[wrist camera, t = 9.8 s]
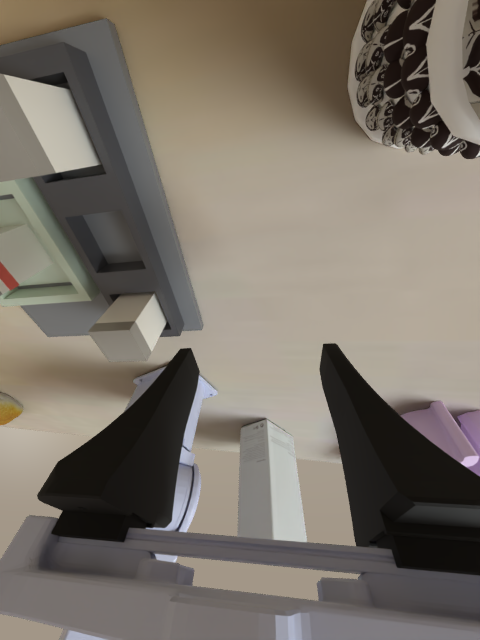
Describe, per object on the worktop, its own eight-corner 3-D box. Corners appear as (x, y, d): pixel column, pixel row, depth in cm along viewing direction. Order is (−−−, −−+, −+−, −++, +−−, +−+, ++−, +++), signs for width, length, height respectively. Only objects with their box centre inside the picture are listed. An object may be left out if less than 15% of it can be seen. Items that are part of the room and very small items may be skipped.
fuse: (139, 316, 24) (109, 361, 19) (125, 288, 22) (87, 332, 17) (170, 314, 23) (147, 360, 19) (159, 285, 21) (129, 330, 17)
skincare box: (240, 426, 39) (231, 546, 28) (268, 416, 37) (271, 546, 25) (269, 444, 43) (271, 557, 32) (296, 437, 40) (310, 557, 29)
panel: (52, 332, 28) (36, 347, 26) (-155, 91, 15) (-222, 84, 13) (203, 325, 25) (198, 341, 23) (114, 24, 12) (84, 2, 10)
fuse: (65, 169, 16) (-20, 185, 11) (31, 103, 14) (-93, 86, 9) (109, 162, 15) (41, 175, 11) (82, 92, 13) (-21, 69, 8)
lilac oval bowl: (405, 462, 44) (424, 508, 39) (344, 452, 43) (356, 497, 38) (501, 412, 31) (551, 469, 26) (419, 395, 30) (453, 451, 25)
